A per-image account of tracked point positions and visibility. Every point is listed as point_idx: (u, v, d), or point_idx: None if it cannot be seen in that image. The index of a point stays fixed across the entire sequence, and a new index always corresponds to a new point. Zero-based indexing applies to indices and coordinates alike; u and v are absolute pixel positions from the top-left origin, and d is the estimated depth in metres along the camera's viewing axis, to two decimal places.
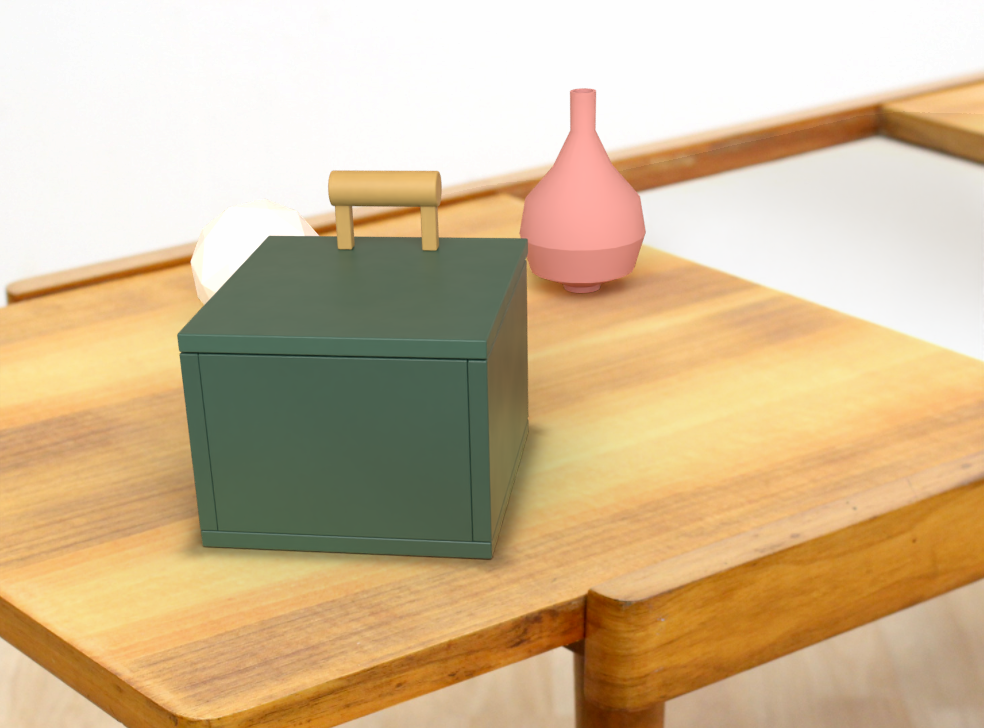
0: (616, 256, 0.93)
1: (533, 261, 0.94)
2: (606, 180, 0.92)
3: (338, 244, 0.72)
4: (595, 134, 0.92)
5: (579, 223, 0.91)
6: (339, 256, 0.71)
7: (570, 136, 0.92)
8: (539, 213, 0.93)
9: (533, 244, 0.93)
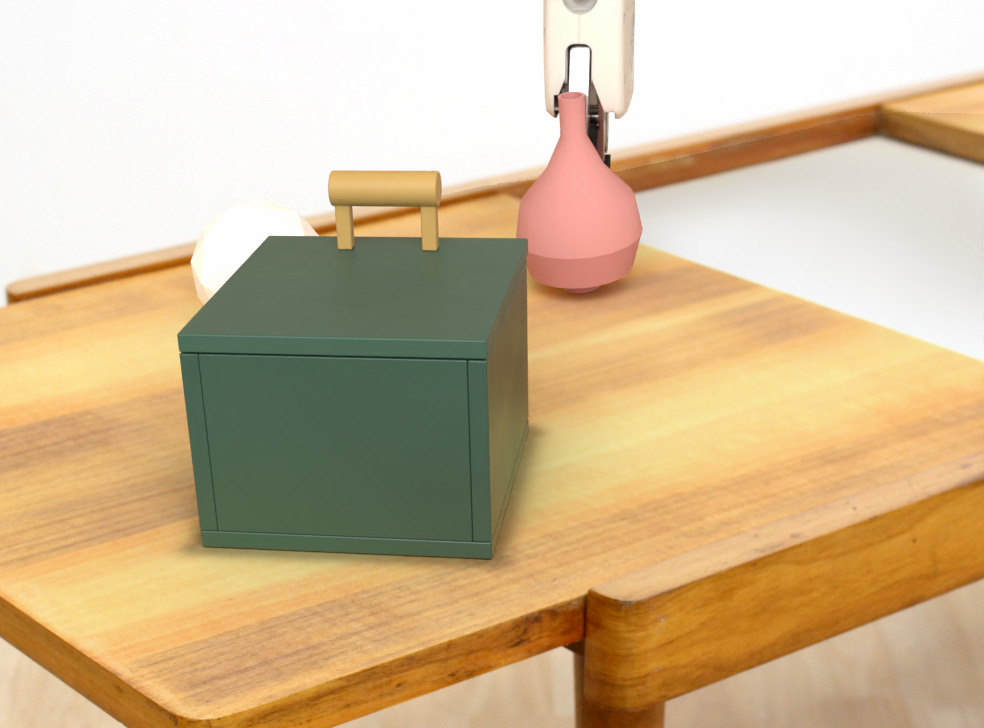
0: (613, 260, 0.92)
1: (531, 266, 0.94)
2: (599, 185, 0.91)
3: (338, 244, 0.72)
4: (586, 138, 0.91)
5: (574, 232, 0.91)
6: (339, 256, 0.71)
7: (560, 141, 0.91)
8: (534, 222, 0.92)
9: (530, 252, 0.93)
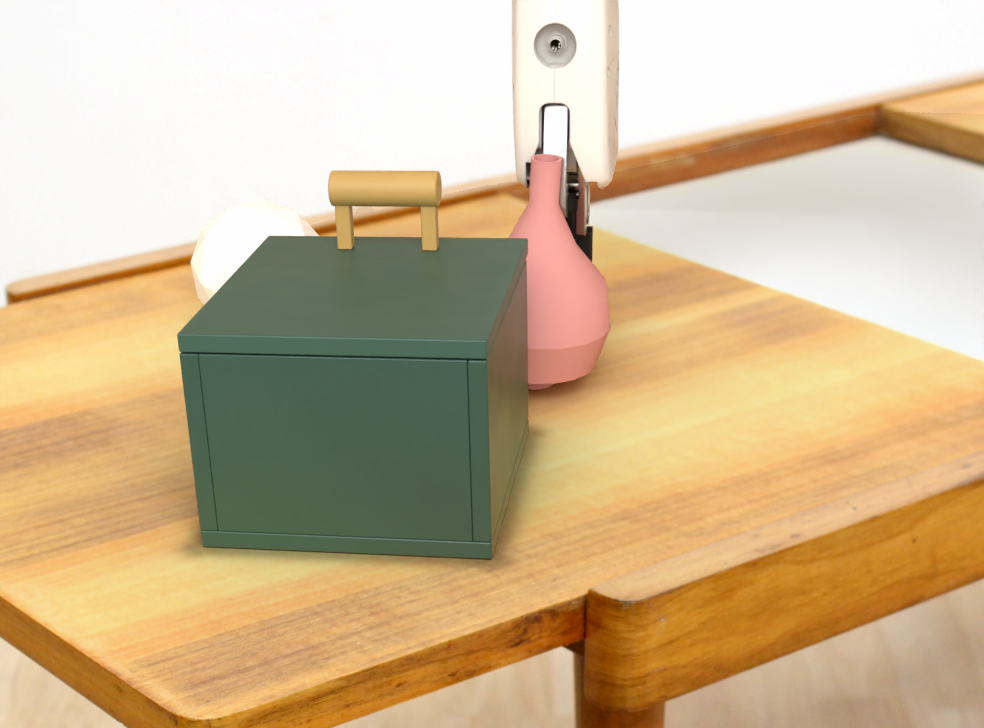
0: (565, 357, 0.78)
1: None
2: (562, 267, 0.77)
3: (338, 244, 0.72)
4: (557, 210, 0.77)
5: None
6: (339, 256, 0.71)
7: (527, 209, 0.78)
8: None
9: None
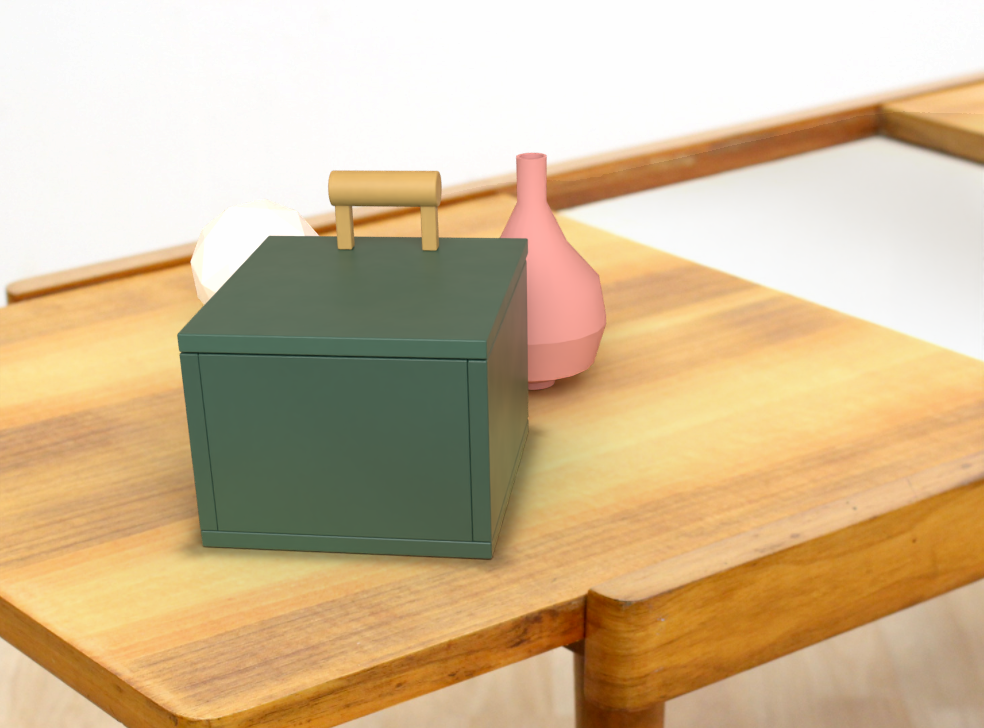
0: (560, 352, 0.78)
1: None
2: (553, 262, 0.78)
3: (338, 244, 0.72)
4: (545, 207, 0.78)
5: None
6: (339, 256, 0.71)
7: (515, 208, 0.78)
8: None
9: None
